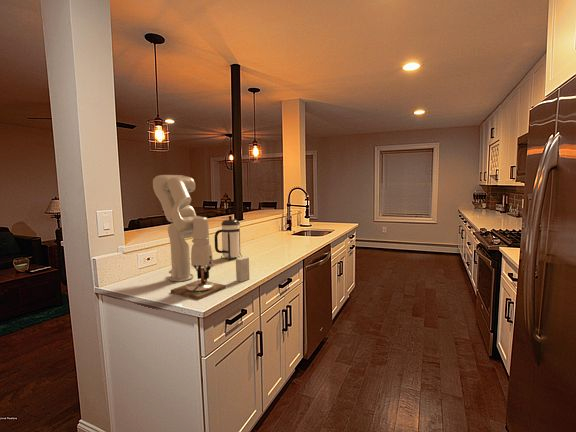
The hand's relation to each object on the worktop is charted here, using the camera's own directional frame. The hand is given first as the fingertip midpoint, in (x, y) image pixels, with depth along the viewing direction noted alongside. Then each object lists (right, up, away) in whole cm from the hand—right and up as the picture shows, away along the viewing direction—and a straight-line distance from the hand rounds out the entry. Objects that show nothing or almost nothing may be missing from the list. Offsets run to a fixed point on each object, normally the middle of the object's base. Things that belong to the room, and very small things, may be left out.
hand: (203, 278), depth 157 cm
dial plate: (-1, -5, -4) cm, 6 cm away
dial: (0, -4, -5) cm, 6 cm away
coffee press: (+2, +1, +64) cm, 64 cm away
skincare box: (+18, -4, +13) cm, 22 cm away
